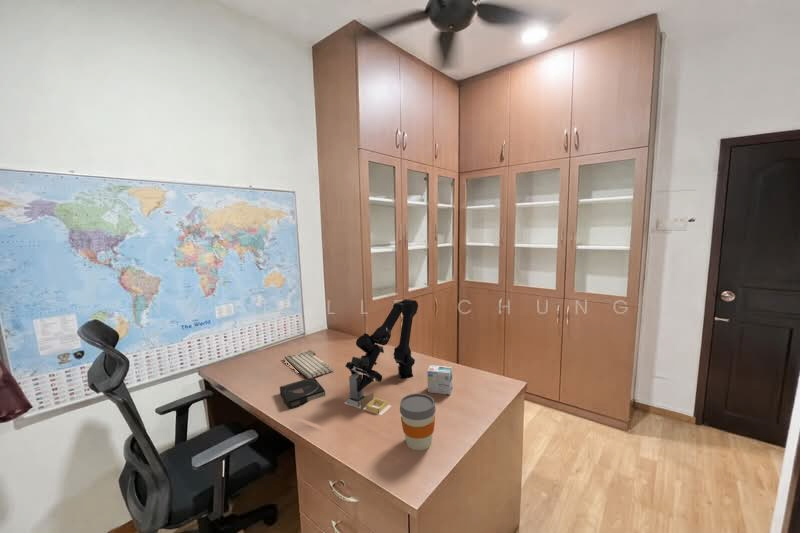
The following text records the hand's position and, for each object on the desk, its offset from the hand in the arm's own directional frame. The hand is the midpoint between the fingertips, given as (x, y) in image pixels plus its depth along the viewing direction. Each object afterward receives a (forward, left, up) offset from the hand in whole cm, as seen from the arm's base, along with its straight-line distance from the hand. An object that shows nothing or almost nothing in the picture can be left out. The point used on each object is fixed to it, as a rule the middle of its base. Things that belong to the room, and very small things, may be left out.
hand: (354, 390), depth 139 cm
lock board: (-5, +3, -7) cm, 9 cm away
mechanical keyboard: (+23, -51, -8) cm, 56 cm away
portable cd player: (+23, -15, -8) cm, 29 cm away
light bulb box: (-40, -1, -7) cm, 40 cm away
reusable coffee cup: (-21, +31, -7) cm, 37 cm away
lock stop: (-1, -1, -6) cm, 6 cm away
